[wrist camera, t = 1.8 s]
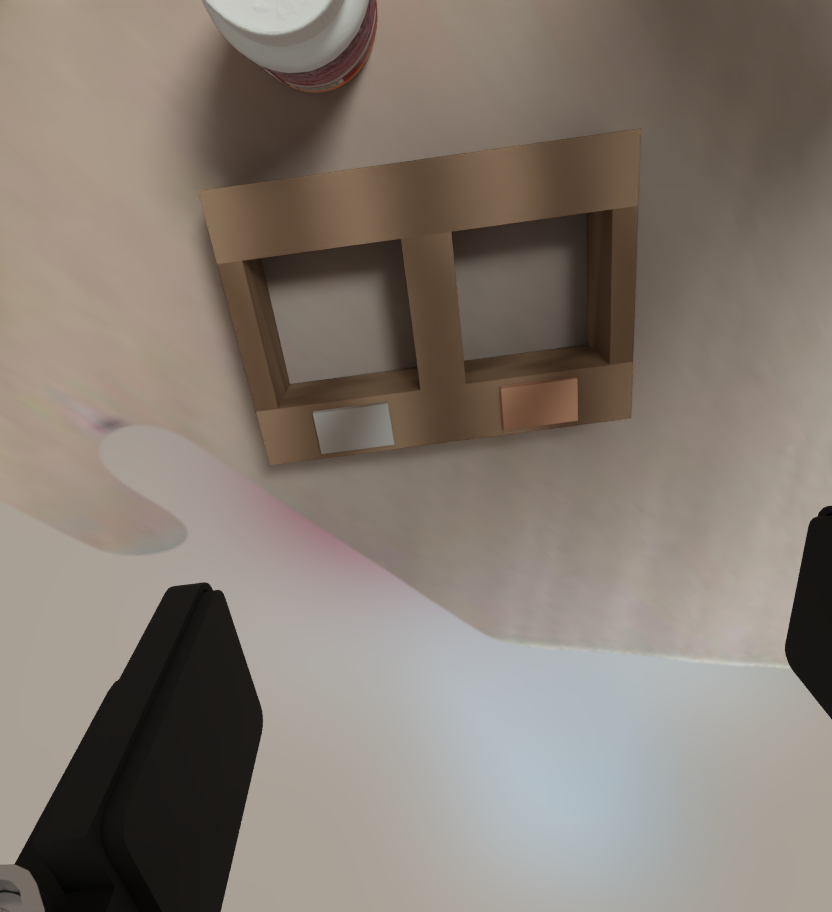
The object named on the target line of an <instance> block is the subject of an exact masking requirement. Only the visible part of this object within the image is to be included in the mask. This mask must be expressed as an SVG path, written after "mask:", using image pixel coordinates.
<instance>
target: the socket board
mask: <svg viewBox="0 0 832 912" xmlns="http://www.w3.org/2000/svg"><path fill="white" fill-rule="evenodd" d="M640 139H641V128H640V129H633V130H626V131H619V132H612V133H605V134H598V135H590V136H583V137H576V138H569V139H562V140H555V141H548V142H541V143H534V144H527V145H520V146H513V147H506V148H499V149H492V150H485V151H477V152H470V153H463V154H456V155H449V156H442V157H435V158H428V159H421V160H414V161H407V162H400V163H393V164H386V165H379V166H372V167H364V168H357V169H350V170H343V171H336V172H329V173H322V174H315V175H308V176H301V177H294V178H287V179H280V180H273V181H266V182H259V183H251V184H244V185H237V186H230V187H223V188H216V189H209V190H202V191H198V193H199V197H200V201H201V205H202V209H203V212H204V216H205V220H206V224H207V228H208V231H209V235H210V239H211V243H212V247H213V250H214V254H215V258H216V262H217V266H218V269H219V273H220V277H221V281H222V285H223V288H224V292H225V296H226V300H227V304H228V307H229V311H230V315H231V319H232V323H233V326H234V330H235V334H236V338H237V342H238V345H239V349H240V353H241V357H242V361H243V364H244V368H245V372H246V376H247V380H248V383H249V387H250V391H251V395H252V399H253V402H254V406H255V410H256V414H257V418H258V421H259V425H260V429H261V433H262V437H263V440H264V444H265V448H266V452H267V456H268V460H269V463H270V465H276V464H284V463H292V462H299V461H307V460H315V459H322V458H330V457H338V456H345V455H353V454H361V453H368V452H376V451H384V450H391V449H399V448H406V447H414V446H422V445H429V444H437V443H445V442H452V441H460V440H468V439H475V438H483V437H491V436H498V435H506V434H514V433H521V432H529V431H537V430H544V429H552V428H559V427H567V426H575V425H582V424H590V423H598V422H605V421H613V420H621V419H628V418H631V407H632V377H633V348H634V318H635V288H636V258H637V229H638V199H639V169H640ZM583 213H587V275H588V345H580V346H573V347H565V348H558V349H550V350H543V351H535V352H528V353H520V354H513V355H505V356H498V357H490V358H483V359H475V360H468V361H464V360H463V349H462V339H461V328H460V318H459V307H458V297H457V286H456V276H455V265H454V255H453V244H452V234H451V232H453V231H460V230H467V229H474V228H482V227H489V226H496V225H503V224H510V223H518V222H525V221H532V220H539V219H546V218H554V217H561V216H568V215H575V214H583ZM395 239H401V244H402V252H403V260H404V267H405V275H406V282H407V290H408V298H409V305H410V313H411V321H412V328H413V336H414V344H415V351H416V359H417V367H416V368H408V369H401V370H393V371H386V372H378V373H371V374H363V375H356V376H348V377H341V378H333V379H326V380H318V381H311V382H303V383H296V384H290V383H289V378H288V374H287V370H286V365H285V361H284V357H283V352H282V348H281V344H280V339H279V335H278V331H277V326H276V322H275V318H274V313H273V309H272V305H271V300H270V296H269V292H268V287H267V283H266V279H265V274H264V270H263V266H262V261H261V258H265V257H272V256H280V255H287V254H294V253H301V252H309V251H316V250H323V249H330V248H337V247H345V246H352V245H359V244H366V243H373V242H381V241H388V240H395Z"/></svg>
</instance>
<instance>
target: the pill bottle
mask: <svg viewBox="0 0 832 912" xmlns="http://www.w3.org/2000/svg"><path fill="white" fill-rule="evenodd" d="M202 1H203V4H204V6H205V8H206V10H207V12H208V14H209V16H210V17H211V19H212V21H213V22H214V24H215V25H216V27H217V28H218V30H219V31H220V32H221V34H222V35H223V36H224V37H225V39H226V40H227V41H228V42H229V43H230V44H231V45H232V46H233V47H235V48H236V49H237V50H238V51H239V52H240V53H241V54H243V55H244V56H245V57H247V58H248V59H250V60H251V61H252V62H254V63H255V64H257V65H259V66H260V67H261V68H262V69H263V70H265V71H266V72H267V73H269V74H270V75H272V76H273V77H274V78H276V79H277V80H279V81H280V82H282V83H283V84H285V85H287V86H289V87H291V88H293V89H296V90H299V91H303V92H310V93H320V92H327V91H331V90H334V89H336V88H338V87H340V86H342V85H344V84H345V83H347V82H348V81H349V80H351V79H352V78H353V77H354V76H355V75H356V74H357V73H358V72H359V71H360V69H361V68H362V67H363V65H364V64H365V62H366V60H367V59H368V57H369V55H370V52H371V50H372V47H373V44H374V40H375V35H376V29H377V2H376V0H202Z"/></svg>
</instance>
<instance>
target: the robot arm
mask: <svg viewBox="0 0 832 912" xmlns="http://www.w3.org/2000/svg"><path fill="white" fill-rule="evenodd" d="M785 653H786V657H787V660H788V663H789V665H790V667H791V668H792V670H793V671H794V672H795V674H796V675H797V676H798V677H799V679H800V680H801V681H802V682H803V684H804V685H805V686H806V688H807V689H808V690H809V691H810V693H811V694H812V695H813V696H814V698H815V699H816V700H817V701H818V702H819V704H820V705H821V706H822V707H823V709H824V710H825V711H826V713H827V714H828V715H829V716H830V718H831V719H832V506H827V507H825V508H823V509H822V510H821V511H820V512H819V514H818V517H815V518H813V519H812V520H811V521H810V524H809V527H808V532H807V537H806V542H805V547H804V552H803V557H802V562H801V567H800V572H799V577H798V583H797V588H796V593H795V598H794V603H793V608H792V613H791V618H790V623H789V628H788V633H787V639H786V644H785ZM262 727H263V715H262V709H261V705H260V702H259V699H258V696H257V693H256V690H255V687H254V684H253V681H252V678H251V675H250V672H249V669H248V666H247V663H246V660H245V657H244V654H243V651H242V648H241V645H240V642H239V638H238V636H237V632H236V629H235V626H234V624H233V620H232V617H231V614H230V611H229V608H228V606H227V602H226V599H225V597H224V594H223V593H222V591H220V590H215V591H213V590H212V587H211V586H210V585H209V584H208V583H197V584H189V585H180V586H173V587H170V588H168V590H167V591H166V593H165V594H164V596H163V598H162V600H161V602H160V604H159V606H158V607H157V609H156V611H155V613H154V615H153V617H152V619H151V621H150V623H149V624H148V626H147V628H146V630H145V632H144V634H143V636H142V637H141V640H140V641H139V643H138V645H137V647H136V649H135V651H134V653H133V654H132V656H131V658H130V660H129V662H128V664H127V666H126V668H125V669H124V671H123V673H122V675H121V677H120V679H119V680H118V681H116V682H115V683H114V684H113V686H112V687H111V688H110V690H109V691H108V693H107V695H106V696H105V698H104V700H103V702H102V704H101V706H100V707H99V710H98V711H97V713H96V715H95V717H94V719H93V720H92V722H91V724H90V726H89V728H88V730H87V732H86V733H85V735H84V737H83V739H82V741H81V743H80V744H79V746H78V748H77V750H76V752H75V754H74V756H73V757H72V759H71V761H70V763H69V765H68V767H67V768H66V770H65V773H64V774H63V776H62V778H61V780H60V781H59V783H58V785H57V787H56V789H55V791H54V793H53V794H52V796H51V798H50V800H49V802H48V804H47V805H46V807H45V809H44V811H43V813H42V815H41V816H40V818H39V820H38V822H37V824H36V826H35V828H34V829H33V832H32V833H31V835H30V837H29V839H28V841H27V842H26V844H25V846H24V848H23V850H22V852H21V853H20V855H19V857H18V859H17V861H16V863H15V864H13V865H0V912H221V908H222V903H223V899H224V895H225V890H226V885H227V882H228V877H229V872H230V869H231V864H232V860H233V856H234V851H235V847H236V842H237V838H238V834H239V829H240V825H241V821H242V816H243V812H244V807H245V803H246V799H247V795H248V790H249V786H250V782H251V777H252V773H253V769H254V764H255V760H256V755H257V751H258V747H259V742H260V738H261V734H262Z"/></svg>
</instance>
